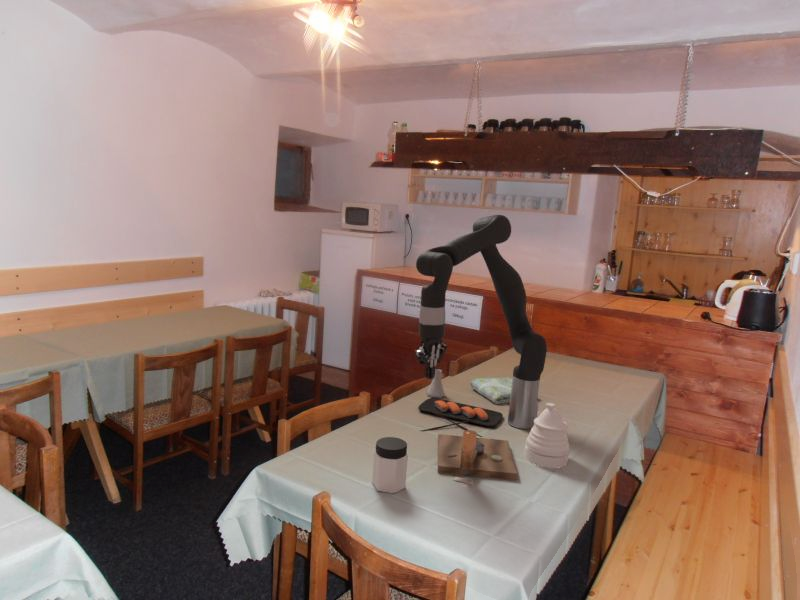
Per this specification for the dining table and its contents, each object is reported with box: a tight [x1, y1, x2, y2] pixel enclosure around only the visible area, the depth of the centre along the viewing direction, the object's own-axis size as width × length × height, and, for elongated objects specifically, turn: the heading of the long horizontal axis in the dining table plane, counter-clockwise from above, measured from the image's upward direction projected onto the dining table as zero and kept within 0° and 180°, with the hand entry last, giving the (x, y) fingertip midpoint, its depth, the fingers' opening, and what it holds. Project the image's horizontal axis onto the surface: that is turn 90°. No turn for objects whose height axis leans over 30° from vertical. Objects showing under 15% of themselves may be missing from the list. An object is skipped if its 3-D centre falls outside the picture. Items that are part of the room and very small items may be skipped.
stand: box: [437, 433, 518, 486], centre depth 170 cm, size 22×27×2 cm
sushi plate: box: [417, 397, 504, 438], centre depth 200 cm, size 29×30×4 cm
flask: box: [426, 368, 446, 399], centre depth 224 cm, size 7×7×10 cm
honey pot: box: [524, 402, 570, 469], centre depth 174 cm, size 13×13×18 cm
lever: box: [460, 429, 484, 473], centre depth 164 cm, size 19×5×12 cm, turn 163°
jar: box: [371, 436, 409, 494], centre depth 152 cm, size 9×8×12 cm
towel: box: [470, 376, 513, 405], centre depth 231 cm, size 18×21×5 cm
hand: (429, 378), depth 170 cm, fingers closed
